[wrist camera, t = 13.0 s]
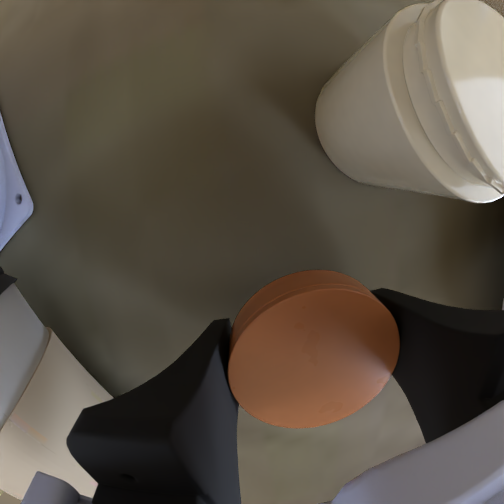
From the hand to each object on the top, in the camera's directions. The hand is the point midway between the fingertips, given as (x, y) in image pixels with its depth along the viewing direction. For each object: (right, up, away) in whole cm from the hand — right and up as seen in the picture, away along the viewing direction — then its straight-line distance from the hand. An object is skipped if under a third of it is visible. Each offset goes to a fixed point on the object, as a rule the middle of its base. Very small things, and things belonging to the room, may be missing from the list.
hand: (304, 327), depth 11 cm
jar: (+3, +8, -1) cm, 9 cm away
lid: (0, -1, -2) cm, 2 cm away
